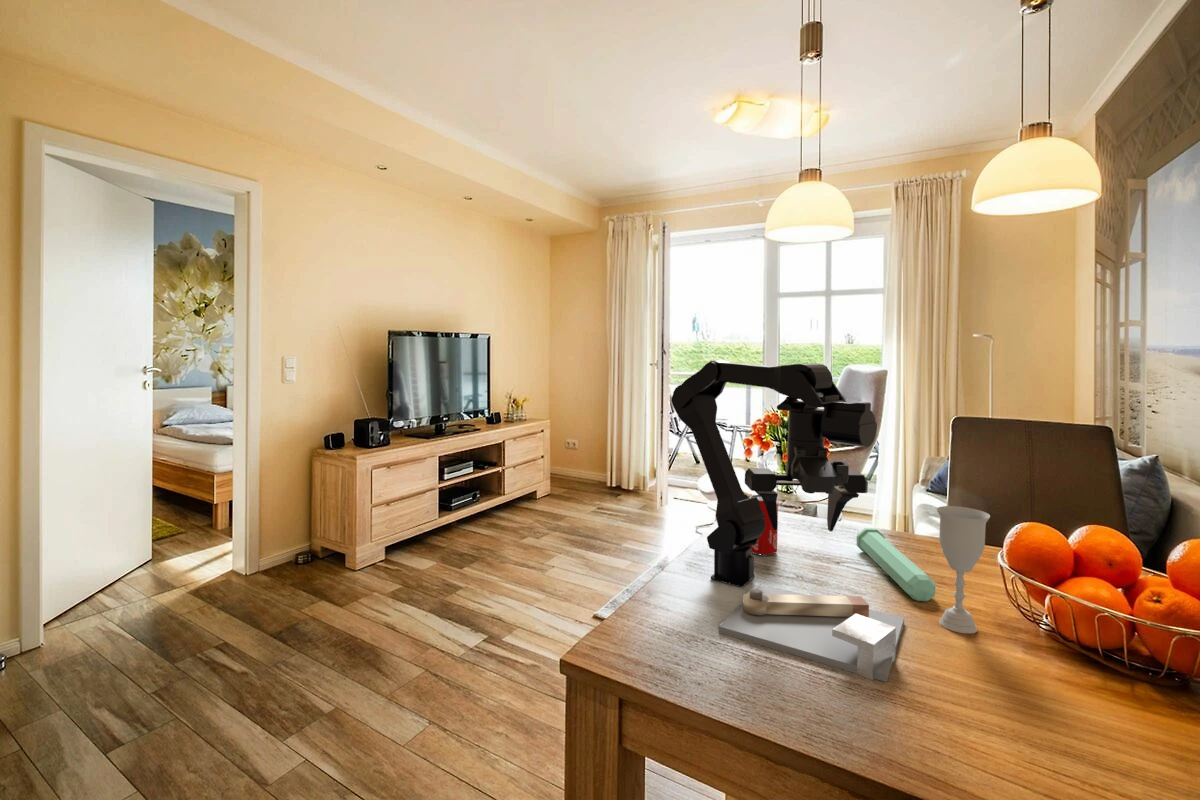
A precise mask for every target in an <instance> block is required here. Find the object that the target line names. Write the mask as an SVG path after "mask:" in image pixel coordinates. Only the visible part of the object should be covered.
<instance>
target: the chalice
mask: <svg viewBox="0 0 1200 800" xmlns="http://www.w3.org/2000/svg"><path fill="white" fill-rule="evenodd" d="M936 511H937V513H938V515H939V537H938V540H939V544H940V547H941V549H942V553H943V555H944V557H945V559H946V561H947V563H948V565H949V568H950V569H952V570H953V571H955V573H956V577H955V580H954V582H953V583H954V585H955V589H956V590H955V592H953V593H952V595H953V597H954V599H955V600H954V601H955V603H954V605H952V606H951V607H948V608H946V609H945V610H944V613H943V614H942V616H941V618H940V619H939V622H938V623H939V624H940V626H942V627H943V628H945V629H947V630H950V631H952V632H955V633H959V634H975V633H977V632H978V628H977V626H976V622H975V620H974V618H973V615H972V614H971V613H970V612H969V611H968V610H966V609H965V607H964V605H963V601H964V599H966V597H967V595H966V594H965V593H964V587H965V586H966V585H967V584H966V583H965V577H964V575H965V574H966V573H970V572H972V570H973V569H974V567H975V566H976V564H977V563H978V561H979V560H980V558H981V556H982V555H983V552H984V550H985V546H986V524H987V522H988V521H989V519H990V518H991V515H990V514H989V513H988V512H985V511H984V510H983V511H982V510H980V509H977V508H976V509H975V508H971V507H964V506H958V505H957V506H954V505H944V506H943V505H942V506H939V507H937V508H936Z"/></svg>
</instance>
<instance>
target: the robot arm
mask: <svg viewBox="0 0 1200 800" xmlns="http://www.w3.org/2000/svg"><path fill="white" fill-rule="evenodd" d="M727 383H729V384H737V385H745V386H753V387H761V388H768V389H771V390H772V391H774V392H777V393H778V394H780V395H783V396H786V397H785V399H784V400H783V401H782V402H781V403H779V404H778V405H777V406H776V409H777V410H778V411H785V412H788V420H787V421H788V424H787V441H786V442H785V448H786V449H787V452H786V453H787V454H786V465H785V467H784V471H785V472H786V473H775V472H774V471H772V470H771V469H770V468H769V467H764V468H763V467H762V468H761V467H749V468H747V470H745V473H744V484H745V485H746V487H747V488H749V490H750V491H752V492H754V493H756V495H759V496H761V497H762V499H763V501H764V503H765V506H766V509H767V512H768V515H769V518H770V521H771V524H772V527H773V529H774V530H777V523H778V524H779V522H778V521H779V520H778V521H777V505H778V504H777V505H776V503H777V500H778V494H779V493H777V492H776V491H775V489H776V488H777V486H801V489H802V491H803V492H804V493H807V494H815V493H823V494H827V496H828V497H827V512H826V513H827V517H826V519H827V520H826V522H827V530H828V531H829V532H833V531H834V529H835V527H836V525H837V522H838V520H839V519H840V516H841V513H842V512H843V510H844V508H845V506H846V505H847V503H848V502H849V501H851V500H852V499H857V498H858V497H860V494H867V493H868V492H869V491H868V487H869V486H868V485H869V482H868V478H867V477H866V476H865V475H864V474H862V473H860V472H858V471H856V470H855V469H850V468H849V467H850V466H849V464H848V462H847V461H846V460H834V461H829V459H828V451H827V450H828V449H827V447H825V438H826V440H827V441H828V443H834V444H842V445H847V446H856V447H863V448H869V447H870V446H871V445H872V444H873V442H875V440H876V439H875V438H876V436H877V429H878V423H877V422H876V417H875V414H874V412H873V411H872V403H871V402H867V401H859V402H851V401H846V399H845V398H844V396H843V395H842V393H841V392H840V391H839V389H838V387H837V386H836V384H835V383H834V381H833V376H832V373H831V371H830V369H829V368H828V366H827V365H825V364H823V363H792V364H786V365H783V364H782V365H778V366H774V365H773V366H772V365H764V364H763V365H762V364H753V363H752V364H751V363H741V362H730V361H728V360H710V361H708V362H707V363H705V365H704V366H703V367H701V369H700V370H699V371H697V372H696V373H694V374H692V375H691V376H690V377H688V378H687V379H685V380H684V381H683V382H682V383H681V384H679V385H677V386H676V387H675V389H674V390H673V392H672V396H671V399H670V400H671V405H672V407H673V410H674V411H675V413H676V414H677V416H678V418H679V420H680V421H682V423H684V424H685V426H687V427H688V428H689V429H690V431H691V432H692V435H693V437H694V440H695V443H696V446H697V448H698V451H699V454H700V457H701V459H702V461H703V464H704V467H705V470H706V473H707V475H708V477H709V480H710V482H711V485H712V489H713V491H714V494H715V496H716V500H717V503H716V511H715V518H716V523H717V528H715V529H714V530H713V531H712V532H710V534H708V535H707V536H706V541H707V544H708V547H709V549H711V550H713V551H714V553H713V554H714V557H713V558H714V559H713V561H714V562H713V565H714V566H713V567H714V568H713V571H714V573H713V574H711V576H710V580H712V581H716V582H720V583H725V584H728V585H732V586H737V587H742V588H743V587H744V586H746V585H747V584H748V583H749V582H750V581H751V580H752V579H753V578H754V577H755V556H754V555H752V554H753V552H752V547H750V546H752V545H756V543H757V541H758V538H759V537H760V536H761V535H762V534H763V531H764V529H765V522H764V519H763V518H765V517H766V516H765V515H764V513H763V512H762V510H761V507H760V504H759V500H758V499H757V497H753V498H750V497H749V495H747V494H746V493H745V492H744V491H743V489H742V487H741V484H740V482H739V479H738V476H737V473H736V471H735V469H734V466H733V463H732V460H731V458H730V455H729V454H728V451H727V448H726V446H725V443H724V441H723V438H722V435H721V433H720V430H719V428H718V426H717V412H718V404H717V400H716V399H717V398H718V397H719V396H720V395H721V394H722V393H723V391H724V389H725V387H726V384H727Z"/></svg>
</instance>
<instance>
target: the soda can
mask: <svg viewBox="0 0 1200 800" xmlns="http://www.w3.org/2000/svg"><path fill="white" fill-rule="evenodd" d="M753 497H757V499H758V500H759V504H760V507H761V510H762V512H763V513H764V515H765V516H766V517H765V518H763V519H764V522H765V529H764V531H763V534H762V535H761V536H760V537H759V538H758V541H757V543H756V545H752V546H750V547H752V553H753V552H754V553H756V554H755V555H757V554H761V555H760V556H762V555H767V556H770V555H769V554H771V555H773V554H775V553H777V552H778V527H779V526H778V525H779V522H778V523H777V530H774V529H773V527H772V524H771V521H770V518H769V515H768V512H767V509H766V506H765V503H764V501H763V499H762V497H761V496H759V495H758V494H754V495H751V496H750V497H749V498H753ZM776 505H777V521H779V518H778V517H779V516H778V515H779V506H778V503H777V502H776ZM754 553H753V554H754Z"/></svg>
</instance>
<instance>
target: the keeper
mask: <svg viewBox="0 0 1200 800" xmlns="http://www.w3.org/2000/svg"><path fill="white" fill-rule="evenodd" d="M832 636H833V637H836V638H839V639H841V640H844V641H846V642H849V643H851V644H854V645H856V646H858V656H857V673H856V674H857V675H859V676H861V677H864V678H866V679H868V680H871V681H874V680H875V679H874V675H875V671H876V670H877V669H878V668H879V667H880V666H882V665H883V664H884V663H885V662H886V661H887V660H889V659H890V658H891V657H892V656H893V659H892V664H893V663H894V662H895V661H896V653H895V646H896V627H894V626H891V625H888V624H885V623H882V622H879V621H876V620H874V619H871V618H868V617H865V616H862V615H859V614H854V615H853V616H851V617H850V618H848V619H847V620H845V621H844V622H842V623H841V624H839V625H838V626H836V627H835V628H833V629H832Z"/></svg>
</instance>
